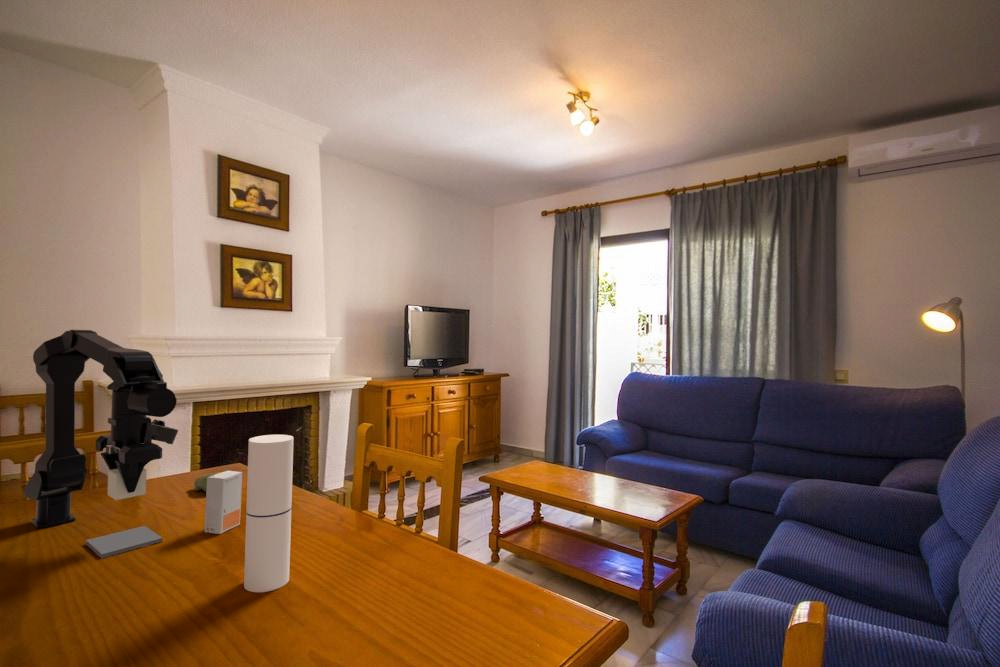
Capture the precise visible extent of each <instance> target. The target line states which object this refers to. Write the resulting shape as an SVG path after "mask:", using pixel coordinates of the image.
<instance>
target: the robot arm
mask: <svg viewBox="0 0 1000 667" xmlns="http://www.w3.org/2000/svg"><path fill="white" fill-rule="evenodd" d="M32 356H33V357H32V359H33V363H34V364H35V373H36V374H37V375H38V377H39V378H40V379H41V380H42V381H43V383H45V448H44V449H45V450H44V452H42V453H41V455H40V457H39V458H38V459H37V460H36V462H35V464H34V465H35V467H34V473H33V474H32V475H31V477H30V478H29V480H28V481H27V483H26V484H25V486H24V487H23V490H24V497H25V498H27V499H30V500H34V501H36V510H35V514H36V515H35V518H31V519H30V522H31V524H32V525H33V526H34V527H35V528H36V529H41V528H45V527H46V528H47V527H50V526H54V525H60V524H64V523H69V522H74V521H76V520H77V518H76V516H74V515H73V514H72V513H71V509H72V506H71V505H72V492H76V491H82V490H83V487H84V485H85V480H86V477H87V473H88V471H87V467H86V462H87V461H86V460H87V457H86V455H85V454H84V453H82V454H81V452H80V451H79V450H78V449H77V448H76V447H75V446H76V443H75V442H76V441H75V440H76V439H75V437H76V426H75V425H76V419H75V418H76V408H75V407H76V406H75V405H76V399H75V398H76V382H77V381H78V380H79V378H80V377H81V376H82V374H83V373H84V372H85V367H86V363H87V361H89V359H92V360H93V361H95V362H97V363H98V364H100V365H102V366H103V367H102V372H103V373H104V374H105V375H107V377H109V378H110V380H112V382H110V383H109V384H108V385H107V386H106V389H107V390H109V391H110V390H111V391H112V392H111V416H110V417H108V418H107V424H109V425H110V434H109V433H108V434H101V435H100V436H99V437H98V438H96V439H95V450H96V451H98V452H100V455H101V457H102V459H103V460H104V462H105V464H106V466H107V468H108V470H112V469H118V470H119V472H120V475H121V478H122V480H123V483H124V485H125V487H126V490H127V492H128V493H131V492H134V491H135V489H136V486H137V484H138V481H139V478H140V476H141V473H142V471H143V468H144V469H145V466H146V465H148V464H149V463H151V461H155V460H160V459H163V448H162V447H161V446H160V445H159V444H157V443H153V442H152V440H154V441H157V442H162V443H166V444H168V445H173V444H174V442H175V439H176V437H177V435H178V432H179V429H176V428H174V427H169V426H166V423H165V421H163V420H161V419H156V418H163V417H166V416H168V415H170V414H171V413H172V412H173V411H174V409H175V408H176V406H177V402H178V401H177V397H176V394H175V393H174V392H173V390H172V389H170V388H168V386H167V385H168V383H167V381H165V380H164V378H163V377H164V376H163V374H162V372H161V370H160V369H159V367H158V365H157V362H156V360H155V358H154V355H152V353H151V352H149V351H148V350H142V349H137V348H136V349H134V348H127V347H123V346H120V345H119V344H116V343H115V342H113V341H111V340H109V339H107V338H105V337H104V336H101V335H99V334H98V333H97V332H96V331H93V330H92V329H69V330H66V331H64V332H63V333H61V335H59V336H56V337H54V338H50V339H48V340H45V341H43V343H42V344H41V345H39V346H38V347H37V348H36V349H35V350H34V352H33V355H32ZM150 417H154V418H155V417H156V418H155V419H154V420H152V418H150ZM104 449H105V451H104ZM103 451H104V452H103Z"/></svg>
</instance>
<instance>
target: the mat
mask: <svg viewBox="0 0 1000 667" xmlns="http://www.w3.org/2000/svg"><path fill="white" fill-rule="evenodd" d="M158 542H160V543H163V537H162V536H160V535H159V534H158V533H156V532H154V531H153V530H152V529H150V528H149V527H147V526H145V525H142V526H139V527H134V528H131V529H125V530H122V531H118V532H113V533H109V534H106V535H102V536H97V537H94V538H89V539H86V540H85V545H86V546H87V547H88V548H89V549H90V550H92V551H93V552H94V553H95V554H96V555H97V557H99V558H100V559H104V558H109V557H113V556H116V555H119V553H120V554H123V553H126V552H125V551H127V552H129V551H128V550H131V551H133V550H132V549H134V550H136V549H135V548H138V549H140V548H139V547H142V548H144V547H143V546H145V547H148V546H147V545H149V546H151V545H150V544H153V545H155V544H154V543H156V544H159V543H158ZM122 552H123V553H122ZM112 555H113V556H112Z"/></svg>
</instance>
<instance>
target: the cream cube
mask: <svg viewBox="0 0 1000 667" xmlns="http://www.w3.org/2000/svg"><path fill="white" fill-rule="evenodd" d="M146 493H147V469H146V468H145V467H144V468H143V471H142V473H141V476H140V478H139V481H138V484H137V486H136V489H135V491H134V492H131V493H128V492H127V490H126V487H125V485H124V483H123V480H122V478H121V475H120V472H119V470H118V469H112V470H109V469H108V471H107V496H108V497H110V498H112V499H113V500H115V501H120V500H123V499H128V498H135V497H139V496H143V495H147V494H146Z"/></svg>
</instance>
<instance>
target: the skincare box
mask: <svg viewBox="0 0 1000 667" xmlns="http://www.w3.org/2000/svg"><path fill="white" fill-rule="evenodd" d="M217 473H218V474H215V475H213V476H210V477H207V489H206V491H205V494H206V496H205V515H204V533H207V532H209V533H208V534H216V535H222V534H223V533H225V532H227V531H229V530H231V529H233V528H235V527H238V526H239V525H240V524H241V509H242V508H241V506H242V486H243V484H242V483H243V472H242V471H234V470H233V471H232V470H226V471H223V472H217Z"/></svg>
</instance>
